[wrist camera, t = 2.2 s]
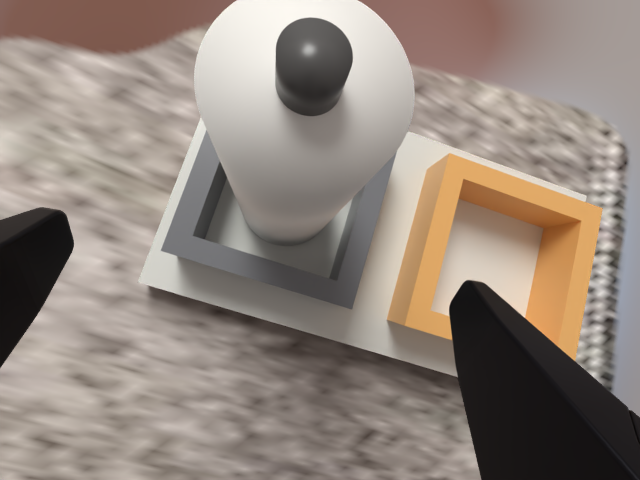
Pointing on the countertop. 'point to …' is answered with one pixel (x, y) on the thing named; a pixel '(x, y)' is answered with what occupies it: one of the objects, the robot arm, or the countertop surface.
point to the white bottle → (301, 107)
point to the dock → (387, 252)
